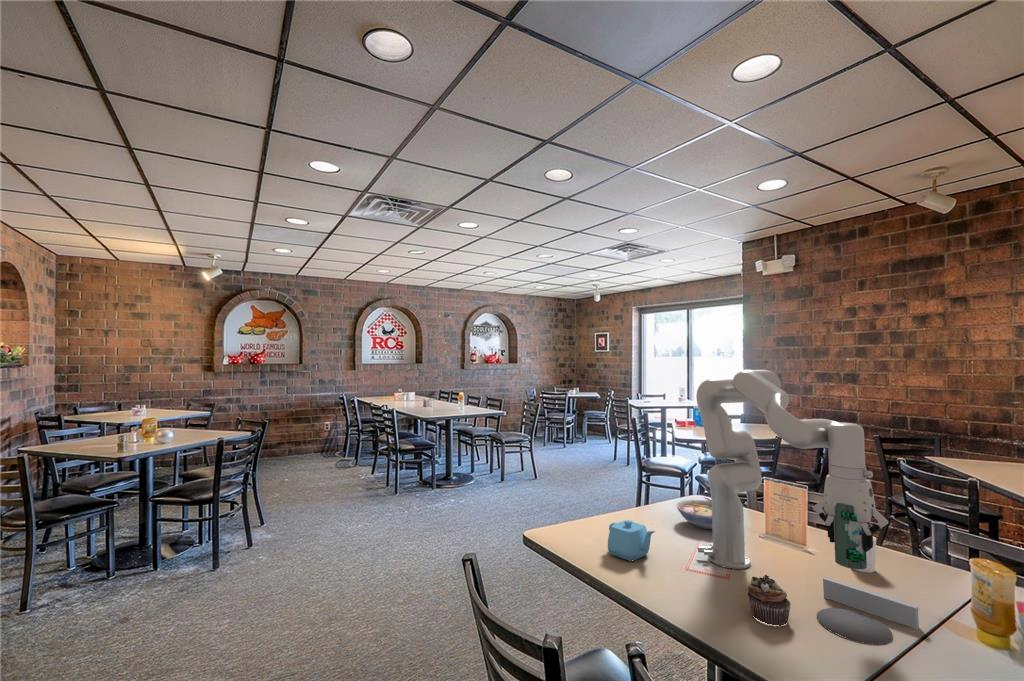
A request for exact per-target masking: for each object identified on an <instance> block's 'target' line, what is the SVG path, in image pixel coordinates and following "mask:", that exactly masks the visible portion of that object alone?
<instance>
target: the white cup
mask: <svg viewBox="0 0 1024 681" xmlns="http://www.w3.org/2000/svg"><path fill="white" fill-rule="evenodd" d="M876 559H877V537H875V536H873V548H871V549H870V550H869V551H867V552H866V560H867V568H866V569H863V570H862V569H859V570H858V569H853V570H854V571H858V572H860V573H868V574H870V573H871V574H873V573H874V572H876V561H877V560H876Z"/></svg>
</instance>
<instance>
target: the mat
mask: <svg viewBox="0 0 1024 681" xmlns="http://www.w3.org/2000/svg"><path fill="white" fill-rule="evenodd" d="M816 619H818V620H819V622H820V623H821V624H822V625H823V626H824V627H823V626H822V625H821V624H820V623H819V622H818V623H819V624H820V625H821V626H822V627H823V628H825V627H826V628H827V629H826V628H825V629H826V630H828V629H829V630H831V631H832V632H831V631H830V632H831V633H833V632H834V633H833V634H835V633H837V634H839V635H841V636H843V637H842V638H844V637H846V638H845V639H847V638H848V639H847V640H850V639H851V640H850V641H853V640H854V641H853V642H857V641H858V643H861V642H864V643H863V644H867V643H874V644H873V645H883V644H882V643H884V644H887V643H886V642H888V641H890V640H891V639H892V640H893V633H892V631H891V629H890V628H889V627H888V626H887V625H886V624H884V623H882V622H881V621H880V620H877V619H876V618H874V617H872V616H870V615H867V614H864V613H862V612H859V611H858V612H857V611H856V610H855V611H854V610H850V609H845V608H840V607H839V608H837V607H836V608H835V607H826V608H823V609H820V610H818V611H817V613H816ZM818 620H817V621H818ZM829 630H828V631H829ZM837 634H836V635H837ZM839 635H838V636H839ZM841 636H840V637H841ZM892 640H891V641H892ZM891 641H890V642H891ZM879 643H881V644H879ZM888 643H889V642H888Z"/></svg>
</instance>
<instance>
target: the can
mask: <svg viewBox="0 0 1024 681" xmlns="http://www.w3.org/2000/svg"><path fill="white" fill-rule="evenodd" d="M863 534H864V530H863V528H862V526H861V522H858V521H857V515H854V506H849V505H843V504H839V503H837V504H836V506H835V516H834V542H833V543H834V562H835V563H836V564H837V565H839V566H841V567H844V568H847V569H852V570H854V569H858V570H859V569H862V570H863V569H866V568H867V560H866V551H864V550H863Z"/></svg>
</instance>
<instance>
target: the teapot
mask: <svg viewBox="0 0 1024 681" xmlns="http://www.w3.org/2000/svg"><path fill="white" fill-rule="evenodd" d="M608 530H609V531H608V532H609V533H608V537H607V551H608V553H609V554H610V555H613V556H615V557H618V558H620V559H623V560H627V561H628V560H630V561H629V562H633V561H632V560H634V561H636V560H638V559H640V558H643V557H645V556H646V555H648V553H649V551H650V545H651V538H652V537H651V536H652V534H654V533H656V531H655V530H647V527H646V525H643V524H640V523H638V522H635V521H633V520H630V519H626V520H625V519H624V520H623V521H619V522H612V523H610V524H609V527H608Z"/></svg>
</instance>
